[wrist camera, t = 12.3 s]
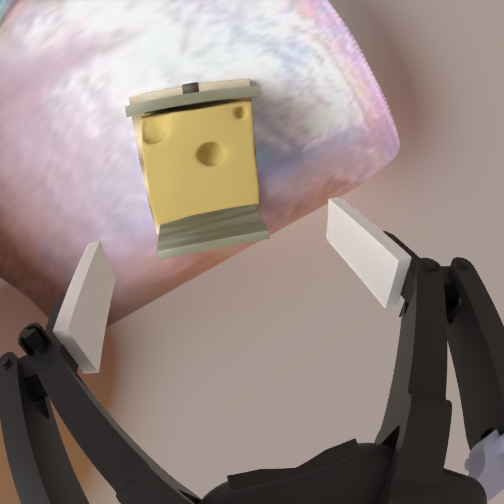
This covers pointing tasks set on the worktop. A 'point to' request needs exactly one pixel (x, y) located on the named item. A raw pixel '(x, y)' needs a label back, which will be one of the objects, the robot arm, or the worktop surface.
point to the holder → (210, 223)
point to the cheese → (199, 159)
